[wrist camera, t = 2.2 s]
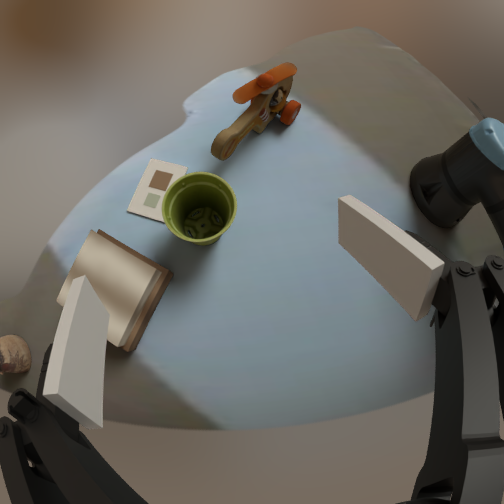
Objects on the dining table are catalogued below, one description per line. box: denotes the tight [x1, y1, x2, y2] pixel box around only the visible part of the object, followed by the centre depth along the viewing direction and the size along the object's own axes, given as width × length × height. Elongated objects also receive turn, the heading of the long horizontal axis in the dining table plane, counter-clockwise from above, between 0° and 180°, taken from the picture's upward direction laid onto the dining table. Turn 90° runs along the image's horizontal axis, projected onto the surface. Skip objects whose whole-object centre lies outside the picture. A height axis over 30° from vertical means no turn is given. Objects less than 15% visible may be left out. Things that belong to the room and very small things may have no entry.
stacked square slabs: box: [57, 229, 173, 352], centre depth 36 cm, size 13×13×6 cm
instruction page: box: [127, 158, 188, 223], centre depth 43 cm, size 10×7×1 cm
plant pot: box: [162, 172, 237, 246], centre depth 38 cm, size 9×9×9 cm
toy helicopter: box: [211, 62, 301, 161], centre depth 40 cm, size 8×21×14 cm, turn 145°
